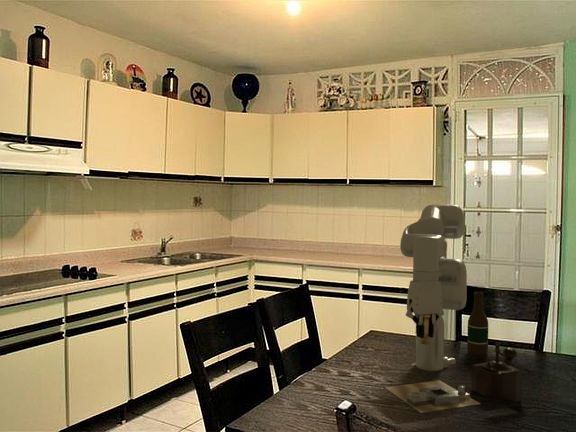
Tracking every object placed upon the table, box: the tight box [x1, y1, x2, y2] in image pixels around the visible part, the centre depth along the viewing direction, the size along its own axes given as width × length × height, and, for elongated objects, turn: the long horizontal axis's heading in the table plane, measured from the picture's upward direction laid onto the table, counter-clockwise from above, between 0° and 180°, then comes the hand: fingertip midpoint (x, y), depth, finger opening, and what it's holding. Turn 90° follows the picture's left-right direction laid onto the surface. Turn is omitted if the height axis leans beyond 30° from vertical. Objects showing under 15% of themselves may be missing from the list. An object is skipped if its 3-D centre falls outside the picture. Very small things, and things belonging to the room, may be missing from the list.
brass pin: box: [420, 314, 431, 345], centre depth 158 cm, size 3×3×9 cm
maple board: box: [385, 379, 482, 414], centre depth 156 cm, size 20×20×2 cm
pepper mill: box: [471, 343, 523, 404], centre depth 155 cm, size 16×11×18 cm
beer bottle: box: [466, 291, 489, 357], centre depth 203 cm, size 8×8×24 cm
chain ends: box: [407, 385, 471, 407], centre depth 152 cm, size 19×8×3 cm, turn 109°
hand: (424, 336), depth 158 cm, fingers closed on brass pin, 2 cm apart
